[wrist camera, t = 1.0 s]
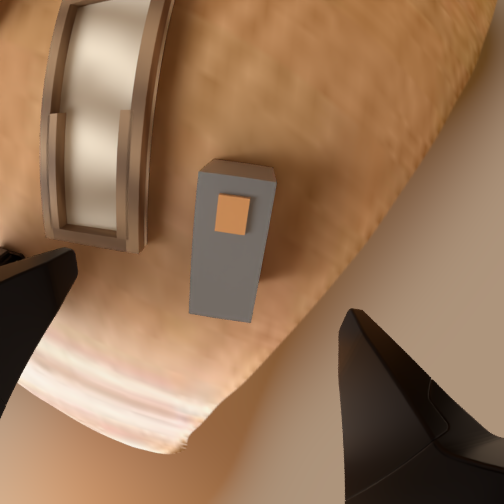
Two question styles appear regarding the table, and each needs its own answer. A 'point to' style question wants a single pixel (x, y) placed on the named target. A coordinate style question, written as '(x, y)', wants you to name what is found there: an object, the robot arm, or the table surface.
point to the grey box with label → (229, 238)
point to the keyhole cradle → (101, 120)
